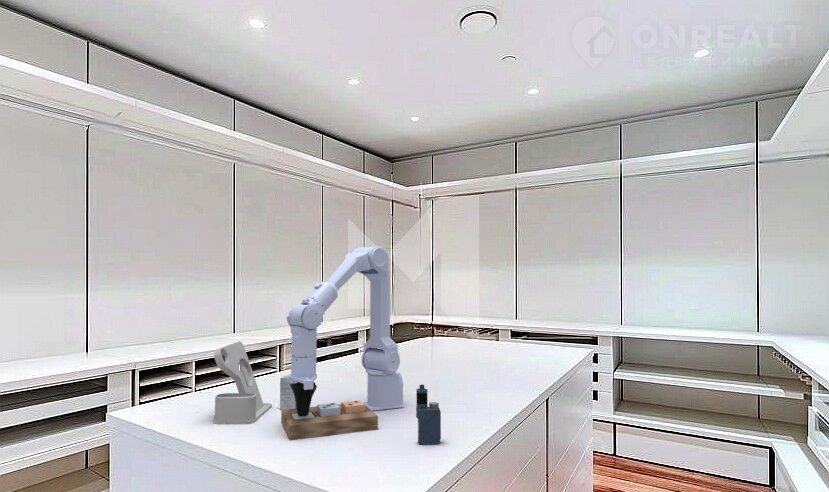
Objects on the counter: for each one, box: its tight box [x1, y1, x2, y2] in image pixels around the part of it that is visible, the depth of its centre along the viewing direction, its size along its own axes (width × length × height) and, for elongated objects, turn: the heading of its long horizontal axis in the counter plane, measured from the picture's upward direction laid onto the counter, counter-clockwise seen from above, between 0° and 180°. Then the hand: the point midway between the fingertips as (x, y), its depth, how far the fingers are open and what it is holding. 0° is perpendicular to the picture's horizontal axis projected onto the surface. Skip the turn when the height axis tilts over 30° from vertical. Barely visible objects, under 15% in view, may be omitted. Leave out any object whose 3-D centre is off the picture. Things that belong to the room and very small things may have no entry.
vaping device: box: [415, 384, 442, 446], centre depth 100 cm, size 3×5×12 cm, turn 95°
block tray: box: [280, 403, 379, 441], centre depth 112 cm, size 20×14×3 cm
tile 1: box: [291, 412, 314, 420], centre depth 109 cm, size 5×5×2 cm
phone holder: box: [212, 341, 273, 425], centre depth 122 cm, size 17×10×18 cm, turn 1°
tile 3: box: [316, 402, 340, 417], centre depth 112 cm, size 5×5×2 cm
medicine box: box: [279, 373, 297, 410], centre depth 129 cm, size 8×4×9 cm, turn 168°
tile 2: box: [341, 400, 365, 414], centre depth 114 cm, size 5×5×2 cm
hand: (302, 415), depth 109 cm, fingers closed, pressing on tile 1
